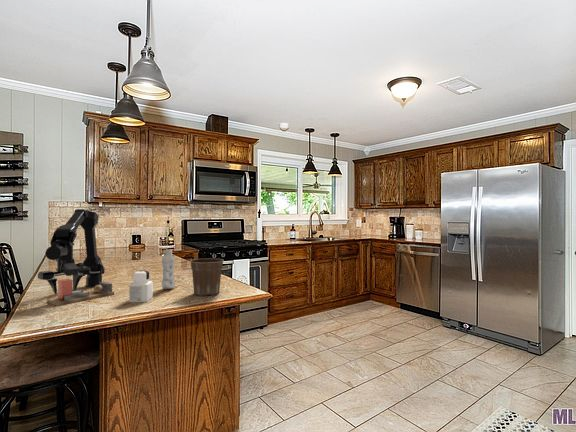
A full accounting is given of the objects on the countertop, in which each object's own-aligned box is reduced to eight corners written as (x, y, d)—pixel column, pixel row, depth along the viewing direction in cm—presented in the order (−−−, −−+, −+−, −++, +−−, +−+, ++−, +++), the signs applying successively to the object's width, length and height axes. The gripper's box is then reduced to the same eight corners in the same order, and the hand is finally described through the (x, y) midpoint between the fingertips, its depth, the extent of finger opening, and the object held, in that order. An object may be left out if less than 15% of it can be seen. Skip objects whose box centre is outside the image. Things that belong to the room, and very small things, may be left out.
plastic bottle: (177, 288, 175) (177, 249, 174) (169, 291, 168) (169, 251, 168) (167, 287, 177) (167, 249, 176) (158, 290, 170) (158, 250, 170)
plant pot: (199, 288, 175) (199, 257, 174) (228, 290, 171) (228, 258, 171) (183, 296, 159) (183, 262, 158) (215, 298, 155) (215, 263, 155)
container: (135, 297, 155) (135, 269, 155) (152, 297, 156) (153, 269, 155) (129, 302, 147) (129, 272, 147) (147, 302, 148) (147, 272, 148)
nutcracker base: (103, 291, 166) (103, 281, 166) (114, 294, 160) (114, 283, 160) (47, 302, 146) (47, 290, 146) (57, 306, 141) (57, 293, 141)
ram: (77, 294, 154) (77, 277, 154) (82, 296, 151) (82, 278, 151) (58, 298, 147) (58, 280, 147) (62, 299, 145) (62, 281, 145)
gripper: (48, 260, 135) (48, 299, 135) (96, 256, 150) (96, 290, 151) (37, 258, 141) (37, 295, 142) (84, 254, 157) (84, 287, 157)
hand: (65, 292), depth 148 cm, fingers open, 7 cm apart
